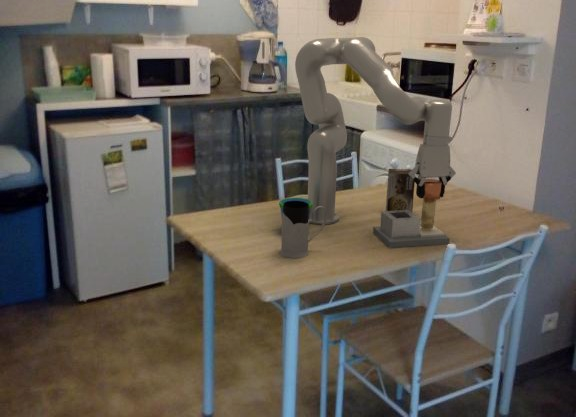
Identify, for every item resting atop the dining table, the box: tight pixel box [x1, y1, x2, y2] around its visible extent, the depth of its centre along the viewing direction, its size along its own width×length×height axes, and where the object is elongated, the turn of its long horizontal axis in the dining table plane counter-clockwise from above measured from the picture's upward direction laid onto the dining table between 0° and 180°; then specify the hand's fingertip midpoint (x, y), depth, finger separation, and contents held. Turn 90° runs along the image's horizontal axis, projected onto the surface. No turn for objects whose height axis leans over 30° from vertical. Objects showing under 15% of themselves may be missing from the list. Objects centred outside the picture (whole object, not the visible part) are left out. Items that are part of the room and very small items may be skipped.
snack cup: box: [278, 197, 313, 220], centre depth 200 cm, size 16×10×10 cm
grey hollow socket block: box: [379, 210, 421, 239], centre depth 196 cm, size 9×9×6 cm
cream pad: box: [419, 225, 446, 237], centre depth 199 cm, size 8×9×1 cm
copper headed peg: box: [420, 178, 442, 229], centre depth 197 cm, size 6×6×15 cm
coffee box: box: [385, 168, 416, 213], centre depth 219 cm, size 9×6×16 cm
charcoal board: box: [372, 223, 451, 249], centre depth 198 cm, size 20×14×2 cm
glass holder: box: [279, 201, 327, 259], centre depth 183 cm, size 9×14×15 cm, turn 111°
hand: (429, 196), depth 196 cm, fingers closed on copper headed peg, 6 cm apart
